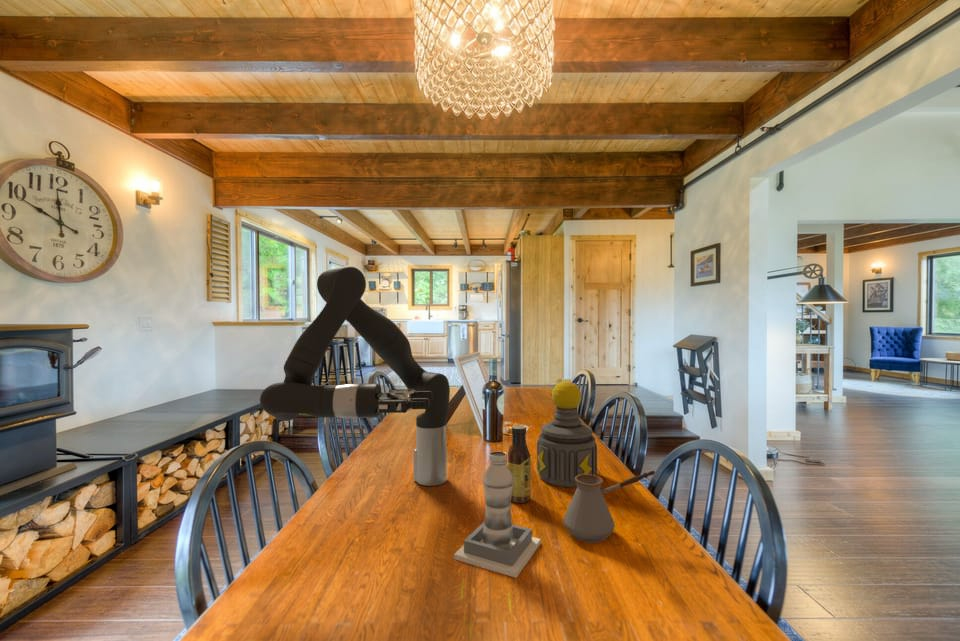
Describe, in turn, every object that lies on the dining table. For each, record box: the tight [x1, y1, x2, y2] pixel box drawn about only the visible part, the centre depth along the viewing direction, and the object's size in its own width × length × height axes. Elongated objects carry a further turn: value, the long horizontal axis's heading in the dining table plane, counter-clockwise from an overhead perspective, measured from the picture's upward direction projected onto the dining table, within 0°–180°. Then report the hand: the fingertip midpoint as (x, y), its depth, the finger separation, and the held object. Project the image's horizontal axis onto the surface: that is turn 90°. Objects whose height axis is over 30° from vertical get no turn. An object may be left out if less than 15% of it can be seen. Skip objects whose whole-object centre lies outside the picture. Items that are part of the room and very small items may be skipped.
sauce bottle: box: [507, 425, 531, 504], centre depth 118 cm, size 7×6×20 cm
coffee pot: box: [563, 470, 659, 544], centre depth 98 cm, size 21×12×15 cm, turn 87°
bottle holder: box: [453, 520, 542, 579], centre depth 92 cm, size 14×14×4 cm
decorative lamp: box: [536, 380, 598, 488], centre depth 134 cm, size 19×19×30 cm
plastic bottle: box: [482, 451, 514, 549], centre depth 92 cm, size 6×7×20 cm
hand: (430, 399), depth 96 cm, fingers open, 8 cm apart
